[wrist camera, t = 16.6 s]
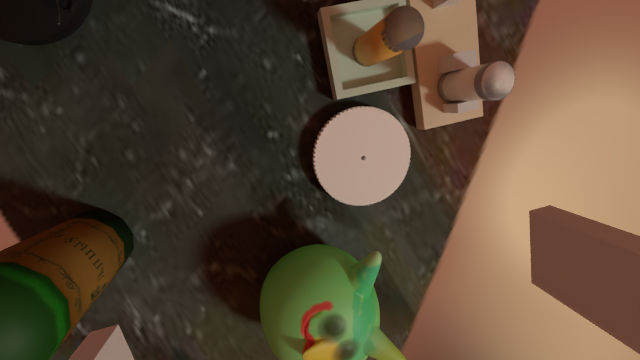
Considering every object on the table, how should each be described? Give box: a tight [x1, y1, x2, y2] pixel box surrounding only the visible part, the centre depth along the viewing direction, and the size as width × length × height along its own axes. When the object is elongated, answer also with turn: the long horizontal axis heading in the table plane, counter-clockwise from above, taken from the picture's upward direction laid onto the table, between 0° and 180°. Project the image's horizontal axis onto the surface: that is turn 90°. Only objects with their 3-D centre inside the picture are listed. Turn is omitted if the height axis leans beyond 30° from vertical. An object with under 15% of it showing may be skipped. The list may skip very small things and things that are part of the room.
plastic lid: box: [312, 106, 411, 206], centre depth 44 cm, size 14×14×2 cm
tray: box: [317, 0, 416, 100], centre depth 40 cm, size 11×11×2 cm
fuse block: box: [406, 0, 515, 130], centre depth 37 cm, size 24×9×12 cm, turn 12°
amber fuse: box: [352, 5, 425, 67], centre depth 35 cm, size 4×4×12 cm
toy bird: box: [260, 244, 406, 360], centre depth 41 cm, size 18×17×15 cm
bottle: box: [0, 211, 134, 360], centre depth 28 cm, size 11×11×28 cm
